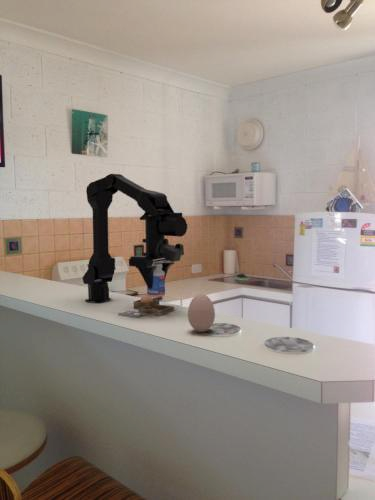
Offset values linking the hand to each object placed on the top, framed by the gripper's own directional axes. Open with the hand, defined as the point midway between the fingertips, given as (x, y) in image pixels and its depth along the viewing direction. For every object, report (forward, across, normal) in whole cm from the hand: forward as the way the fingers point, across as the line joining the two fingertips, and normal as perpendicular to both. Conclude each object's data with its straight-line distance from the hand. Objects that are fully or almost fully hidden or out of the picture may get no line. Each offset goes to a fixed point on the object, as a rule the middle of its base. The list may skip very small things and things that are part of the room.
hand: (155, 287), depth 139 cm
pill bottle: (+3, 0, 0) cm, 3 cm away
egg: (+8, -13, -23) cm, 28 cm away
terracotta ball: (+8, +3, +6) cm, 10 cm away
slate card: (+8, -6, +4) cm, 11 cm away
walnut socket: (+7, 0, 0) cm, 7 cm away
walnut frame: (+8, +3, +6) cm, 10 cm away
